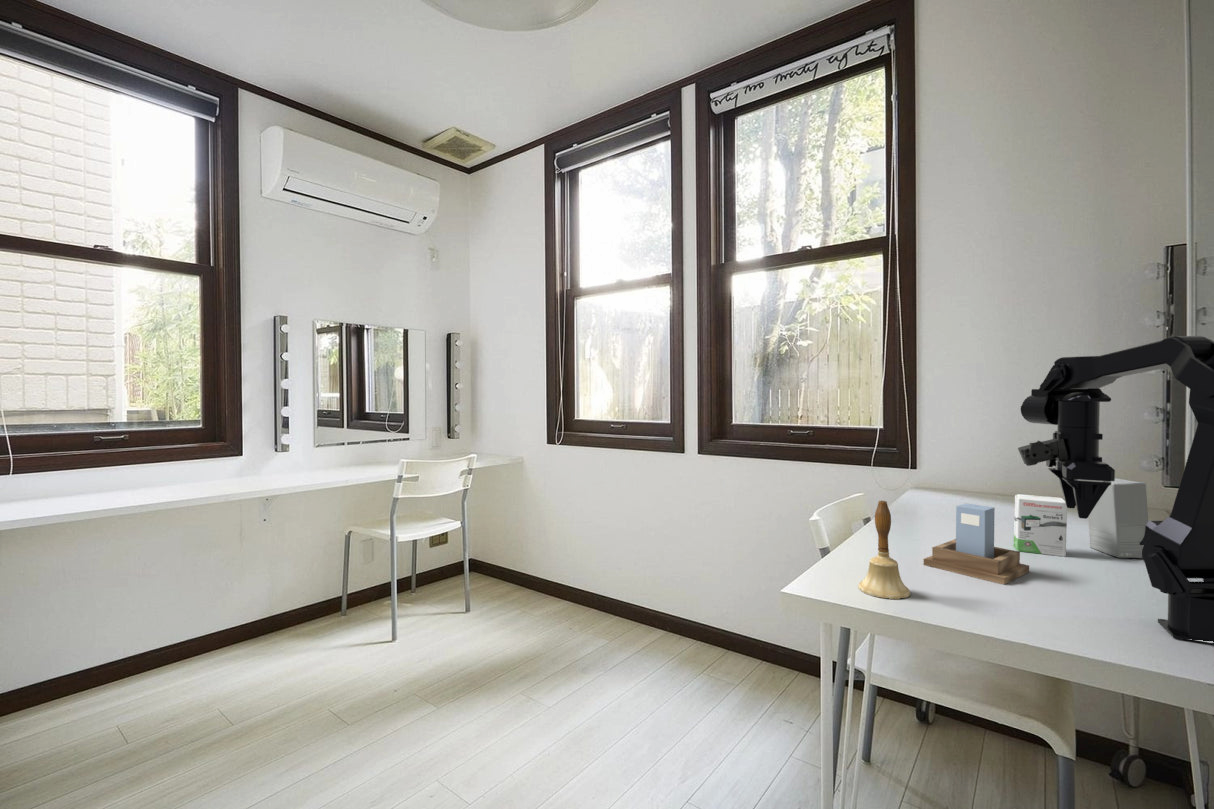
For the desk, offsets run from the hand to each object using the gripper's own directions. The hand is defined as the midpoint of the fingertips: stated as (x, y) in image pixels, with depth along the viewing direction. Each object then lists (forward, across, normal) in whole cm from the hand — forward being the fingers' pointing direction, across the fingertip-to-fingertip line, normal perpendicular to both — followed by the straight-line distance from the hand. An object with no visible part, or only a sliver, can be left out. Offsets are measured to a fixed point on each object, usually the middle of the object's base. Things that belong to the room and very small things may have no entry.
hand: (1076, 512), depth 99 cm
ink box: (+13, -22, -2) cm, 26 cm away
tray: (+13, -2, -15) cm, 20 cm away
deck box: (+12, -2, -15) cm, 19 cm away
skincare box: (+13, -28, +12) cm, 33 cm away
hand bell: (+13, +20, -30) cm, 38 cm away
